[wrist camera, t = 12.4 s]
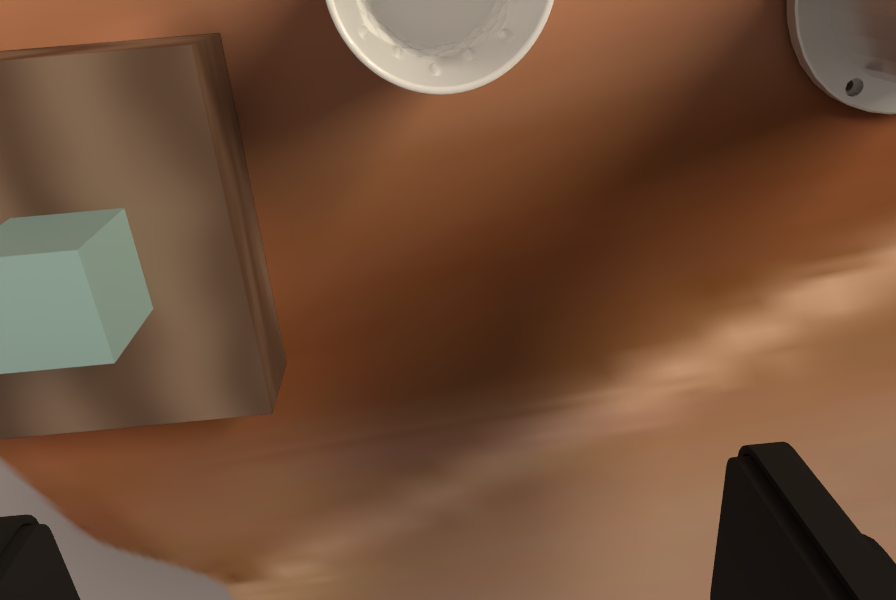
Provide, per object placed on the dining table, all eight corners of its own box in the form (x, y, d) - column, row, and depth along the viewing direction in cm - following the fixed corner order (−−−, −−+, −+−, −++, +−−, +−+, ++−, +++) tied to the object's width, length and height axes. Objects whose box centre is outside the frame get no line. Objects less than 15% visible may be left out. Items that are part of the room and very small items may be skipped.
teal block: (124, 208, 31) (77, 250, 27) (153, 308, 33) (114, 363, 29) (10, 218, 31) (-56, 262, 27) (46, 318, 33) (-9, 374, 29)
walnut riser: (219, 32, 33) (191, 44, 28) (286, 363, 41) (272, 413, 36) (-84, 58, 33) (-162, 73, 28) (42, 386, 41) (-3, 439, 36)
